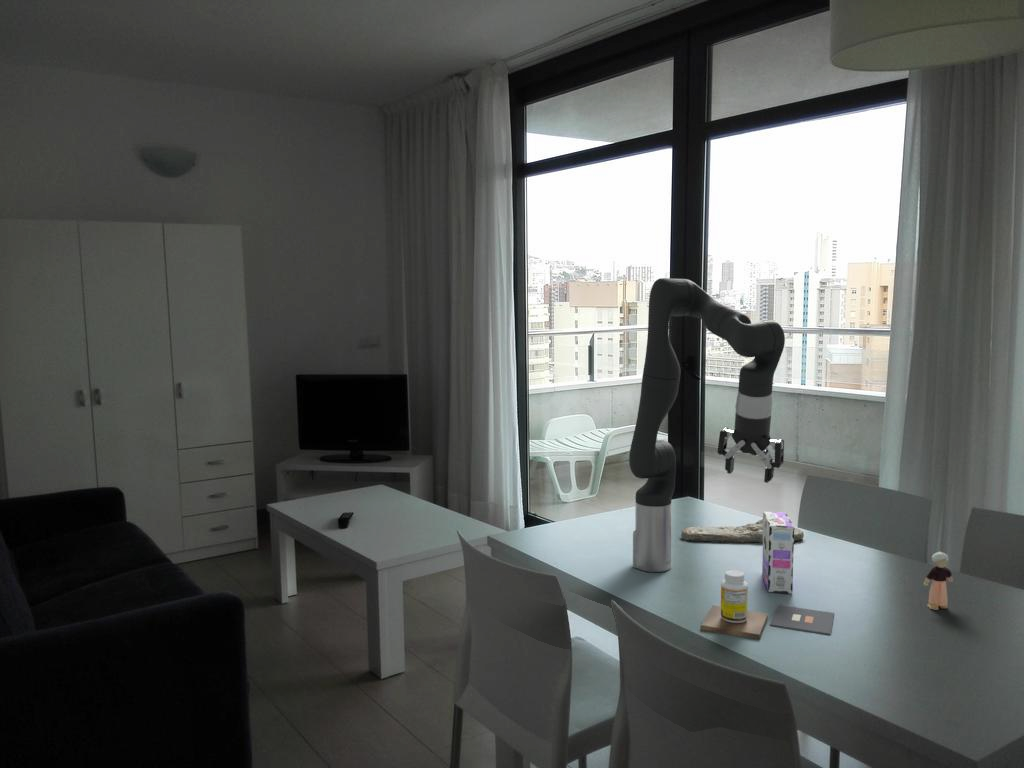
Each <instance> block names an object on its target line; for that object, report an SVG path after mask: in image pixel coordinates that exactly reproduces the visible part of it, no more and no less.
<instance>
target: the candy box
mask: <svg viewBox="0 0 1024 768" xmlns="http://www.w3.org/2000/svg"><path fill="white" fill-rule="evenodd" d="M762 519H763V543H762V562H761V563H762V569H761V572H762V573H761V574H762V575H761V576H763V581H764V583H765V585H766V589H767V593H776V594H777V593H779V594H782V593H783V594H793V588H794V587H793V586H794V585H793V584H794V583H793V582H794V581H793V580H794V550H795V549H794V548H795V546H794V543H795V541H794V528H795V526H794V524H793V522H792V521H791V519H790V517H789V515H788V514H787V512H784V511H783V512H782V511H763V512H762Z"/></svg>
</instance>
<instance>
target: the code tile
mask: <svg viewBox="0 0 1024 768" xmlns="http://www.w3.org/2000/svg"><path fill="white" fill-rule="evenodd" d="M775 607H776V608H775V610H774V613H773V615H772V618H771V621H770V624H769V626H771V627H777V628H782V629H789V630H796V631H803V632H807V633H815V634H821V635H828V636H831V633H832V628H833V623H834V617H835V612H831V611H830V612H829V611H822V610H816V609H809V608H804V607H803V608H802V607H795V606H787V605H781V604H777V605H776V606H775Z"/></svg>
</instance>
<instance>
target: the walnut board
mask: <svg viewBox="0 0 1024 768" xmlns="http://www.w3.org/2000/svg"><path fill="white" fill-rule="evenodd" d="M747 615H748V616H747V620H746V621H745V622H743V623H730V622H727V621H725V620H723V619H722V617H721V605H720V606H719V605H711V607H710V609H709V610H708V612H707V613H706V616H705V617H704V618H703V621H702V623H701V624H700V630H701V631H705V632H706V631H708V632H713V633H719V634H725V635H731V636H738V637H742V638H743V637H744V638H749V639H756V640H761V639H760V638H761V637H762V634H763V631H764V629H765V627H766V625H767V621H768V619H769V613H766V612H759V611H753V610H752V611H751V610H748V614H747Z"/></svg>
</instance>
